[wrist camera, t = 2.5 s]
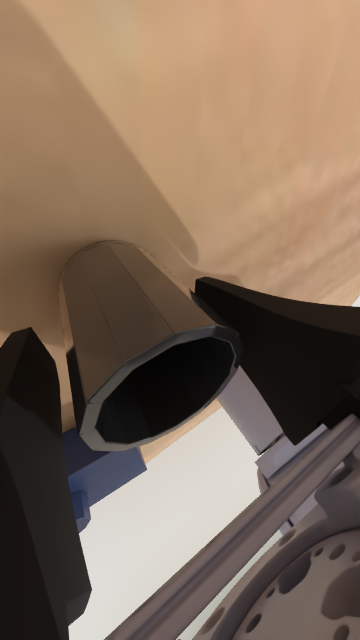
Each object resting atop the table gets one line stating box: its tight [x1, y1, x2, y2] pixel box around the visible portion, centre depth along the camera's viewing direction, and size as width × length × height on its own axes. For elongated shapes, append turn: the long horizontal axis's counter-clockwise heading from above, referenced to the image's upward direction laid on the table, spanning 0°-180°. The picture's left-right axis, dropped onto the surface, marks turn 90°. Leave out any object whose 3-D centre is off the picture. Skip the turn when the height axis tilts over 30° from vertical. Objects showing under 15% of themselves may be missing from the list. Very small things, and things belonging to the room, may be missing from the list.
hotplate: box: [62, 428, 147, 533], centre depth 17 cm, size 13×10×5 cm
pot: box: [58, 240, 244, 452], centre depth 8 cm, size 5×6×7 cm
